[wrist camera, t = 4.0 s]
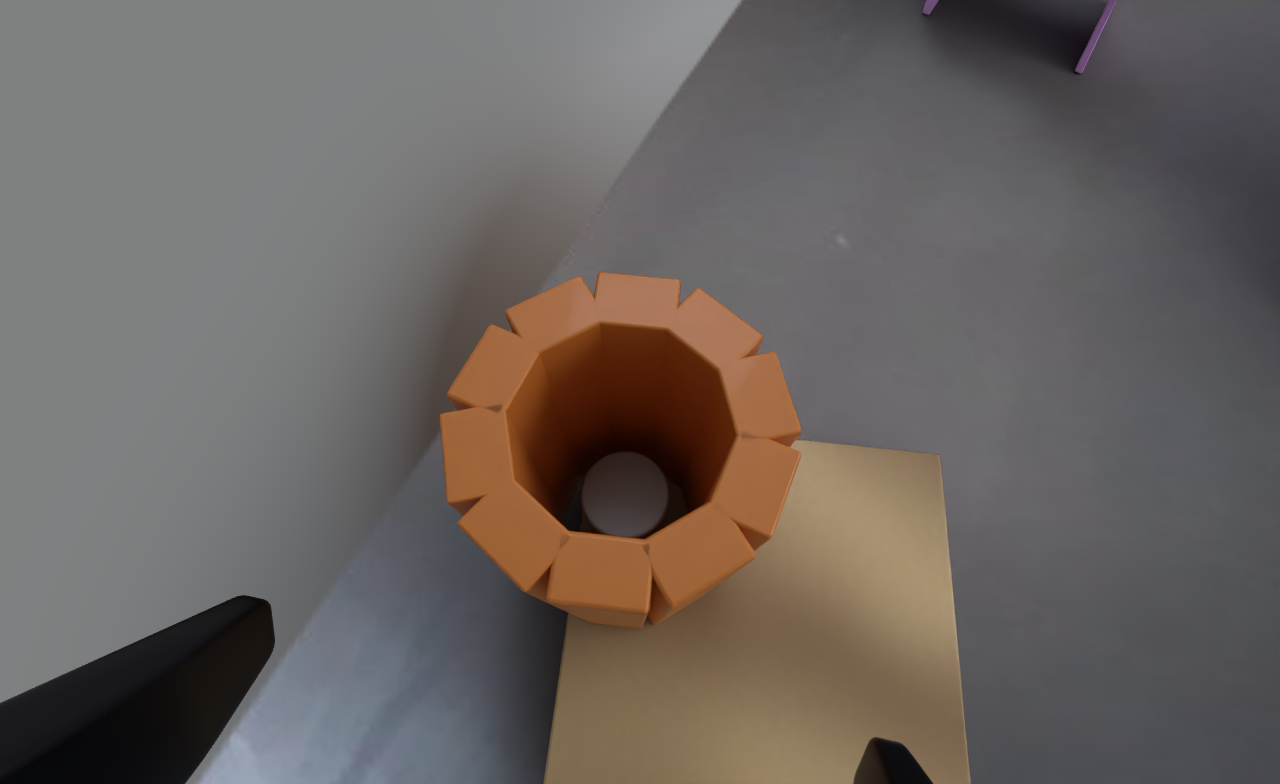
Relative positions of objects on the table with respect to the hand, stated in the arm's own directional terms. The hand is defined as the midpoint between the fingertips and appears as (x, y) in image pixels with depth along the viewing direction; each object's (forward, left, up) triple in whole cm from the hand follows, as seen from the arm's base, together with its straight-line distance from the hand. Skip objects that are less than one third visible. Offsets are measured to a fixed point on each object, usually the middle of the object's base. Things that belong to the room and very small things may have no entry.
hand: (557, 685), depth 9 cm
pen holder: (+4, 0, -10) cm, 11 cm away
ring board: (+1, -5, -11) cm, 12 cm away
